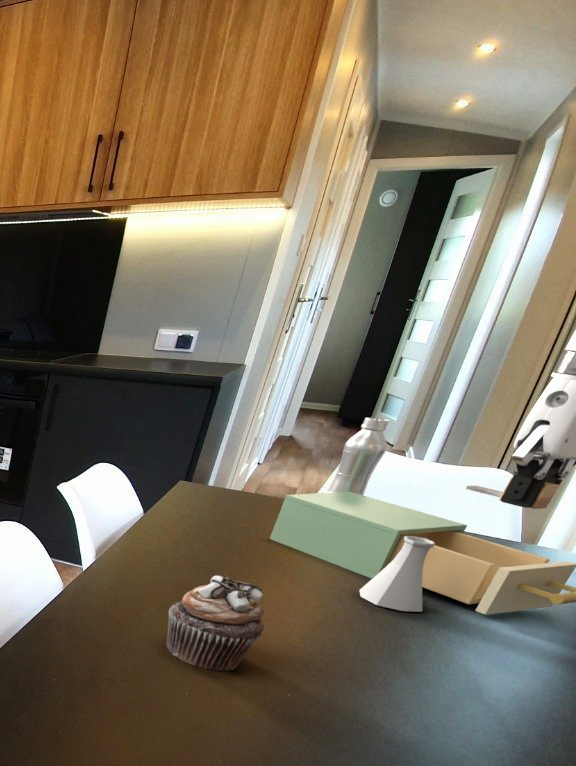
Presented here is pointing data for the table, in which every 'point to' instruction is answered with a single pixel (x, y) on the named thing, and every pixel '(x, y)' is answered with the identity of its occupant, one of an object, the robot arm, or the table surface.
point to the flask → (400, 578)
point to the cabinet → (351, 528)
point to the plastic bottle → (361, 457)
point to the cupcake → (216, 623)
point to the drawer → (491, 573)
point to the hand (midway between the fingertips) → (523, 503)
